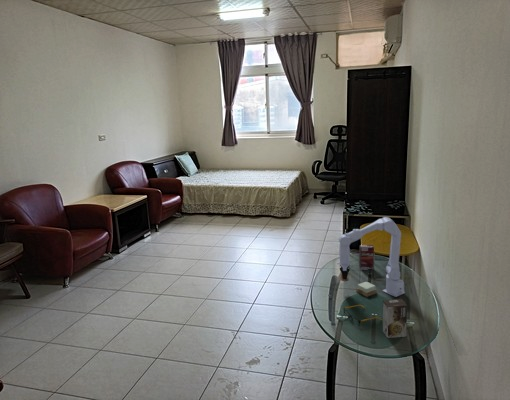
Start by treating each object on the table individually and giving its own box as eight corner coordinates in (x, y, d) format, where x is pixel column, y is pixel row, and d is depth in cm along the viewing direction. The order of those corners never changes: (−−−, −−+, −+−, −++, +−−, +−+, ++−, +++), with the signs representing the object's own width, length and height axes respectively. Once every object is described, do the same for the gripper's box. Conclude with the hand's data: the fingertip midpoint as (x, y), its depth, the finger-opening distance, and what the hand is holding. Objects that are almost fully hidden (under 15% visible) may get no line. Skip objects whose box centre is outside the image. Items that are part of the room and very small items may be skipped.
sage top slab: (375, 289, 219) (375, 285, 219) (366, 293, 216) (366, 288, 216) (366, 285, 225) (366, 281, 225) (357, 288, 222) (357, 284, 222)
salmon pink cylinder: (350, 280, 221) (350, 273, 220) (344, 282, 219) (344, 275, 218) (344, 277, 225) (344, 271, 224) (339, 279, 222) (339, 273, 221)
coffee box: (400, 329, 182) (401, 298, 179) (406, 336, 176) (407, 305, 173) (382, 330, 182) (382, 299, 179) (387, 338, 176) (388, 306, 172)
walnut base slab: (376, 293, 220) (376, 289, 219) (366, 297, 216) (367, 293, 215) (365, 288, 227) (365, 284, 226) (356, 292, 223) (356, 288, 222)
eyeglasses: (341, 314, 199) (341, 307, 198) (365, 308, 204) (365, 301, 203) (358, 328, 186) (358, 320, 185) (382, 321, 191) (382, 314, 190)
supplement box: (360, 270, 251) (360, 247, 248) (359, 267, 256) (359, 245, 253) (373, 269, 251) (374, 247, 248) (371, 267, 256) (372, 244, 252)
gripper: (337, 250, 226) (337, 272, 229) (337, 260, 212) (337, 282, 215) (349, 251, 224) (349, 272, 227) (350, 260, 211) (350, 283, 214)
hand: (344, 277), depth 221 cm, fingers closed on salmon pink cylinder, 4 cm apart
